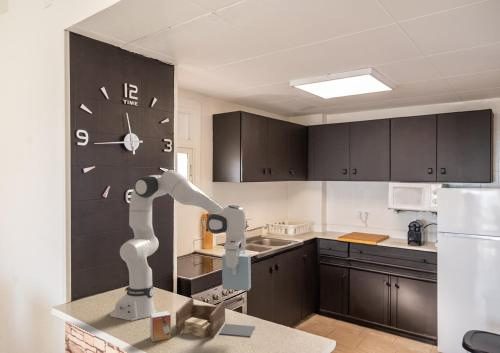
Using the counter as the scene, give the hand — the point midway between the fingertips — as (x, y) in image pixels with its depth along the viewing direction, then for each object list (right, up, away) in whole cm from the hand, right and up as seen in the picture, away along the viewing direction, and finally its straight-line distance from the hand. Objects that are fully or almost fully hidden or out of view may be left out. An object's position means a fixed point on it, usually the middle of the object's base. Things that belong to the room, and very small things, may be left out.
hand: (236, 272), depth 163 cm
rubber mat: (0, -26, 0) cm, 26 cm away
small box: (-33, -27, -5) cm, 43 cm away
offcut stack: (-18, -27, 0) cm, 32 cm away
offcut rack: (-16, -27, +4) cm, 31 cm away
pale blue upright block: (0, -7, 0) cm, 7 cm away
